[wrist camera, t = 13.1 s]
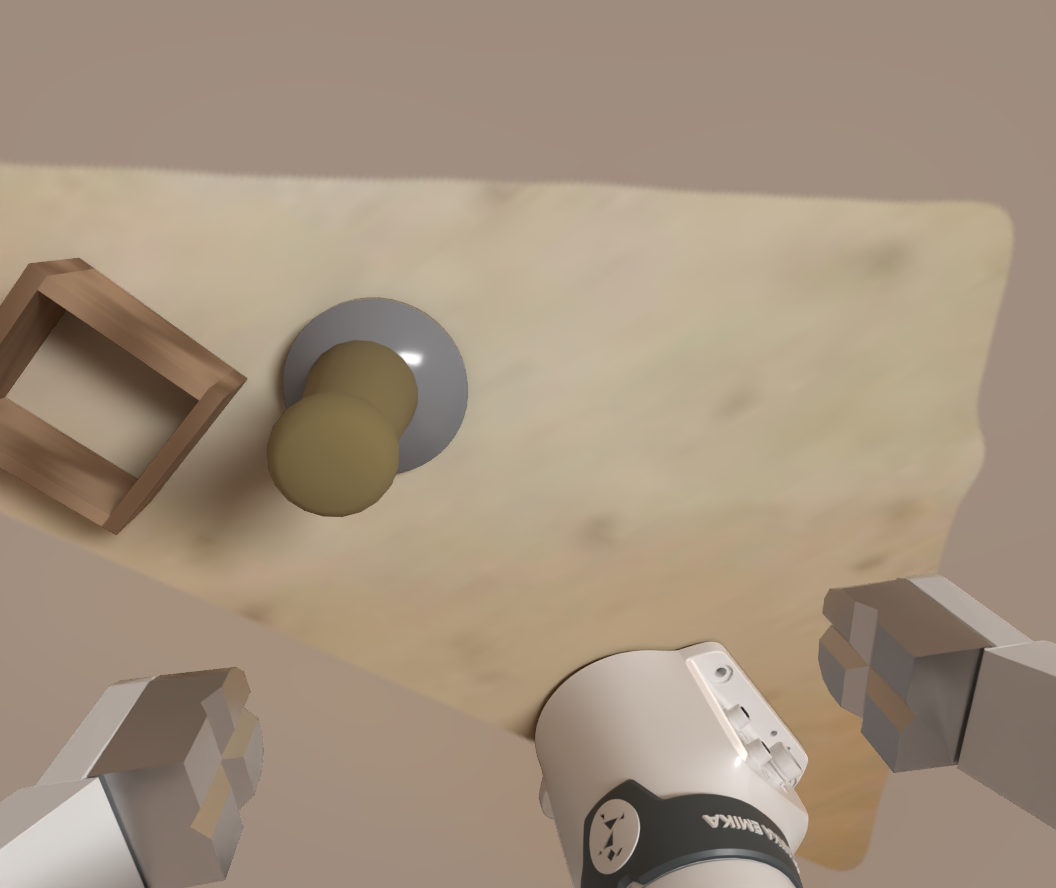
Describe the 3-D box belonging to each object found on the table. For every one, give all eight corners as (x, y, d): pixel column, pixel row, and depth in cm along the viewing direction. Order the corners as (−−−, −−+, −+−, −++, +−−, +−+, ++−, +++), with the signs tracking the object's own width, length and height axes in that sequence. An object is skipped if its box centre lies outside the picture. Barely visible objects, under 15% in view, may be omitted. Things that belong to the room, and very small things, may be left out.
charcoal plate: (502, 377, 36) (504, 381, 35) (394, 499, 38) (393, 506, 37) (361, 257, 33) (358, 259, 32) (250, 397, 34) (244, 402, 33)
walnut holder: (247, 378, 34) (223, 398, 30) (150, 501, 36) (116, 535, 32) (79, 257, 31) (29, 263, 27) (-19, 398, 33) (-78, 422, 29)
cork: (363, 465, 36) (329, 567, 25) (281, 390, 33) (210, 467, 23) (441, 398, 35) (439, 474, 24) (362, 316, 33) (324, 362, 22)
